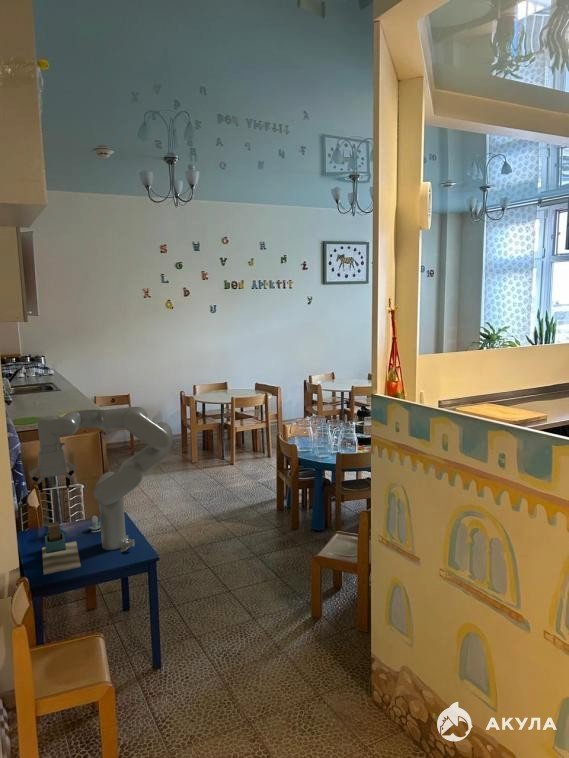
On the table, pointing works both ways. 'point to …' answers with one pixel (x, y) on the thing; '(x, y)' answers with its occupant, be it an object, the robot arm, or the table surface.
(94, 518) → the pacifier
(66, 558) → the base board
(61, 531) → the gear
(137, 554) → the table surface
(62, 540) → the cup bracket
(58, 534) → the rail end
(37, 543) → the table surface
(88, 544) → the table surface
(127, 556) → the table surface
